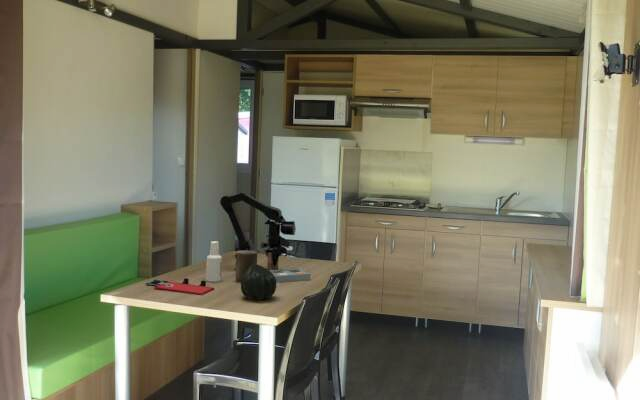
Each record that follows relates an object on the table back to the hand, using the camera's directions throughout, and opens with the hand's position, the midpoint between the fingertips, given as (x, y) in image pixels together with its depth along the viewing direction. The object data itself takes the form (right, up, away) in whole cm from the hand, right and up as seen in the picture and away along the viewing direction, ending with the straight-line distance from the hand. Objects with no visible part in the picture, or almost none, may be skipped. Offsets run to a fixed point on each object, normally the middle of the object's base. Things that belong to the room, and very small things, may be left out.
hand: (272, 264), depth 294 cm
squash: (-2, -9, -50) cm, 50 cm away
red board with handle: (-38, -6, -38) cm, 54 cm away
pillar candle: (-11, -6, -19) cm, 23 cm away
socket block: (+8, -6, -10) cm, 14 cm away
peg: (0, -4, 0) cm, 4 cm away
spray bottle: (-26, -5, -22) cm, 34 cm away
